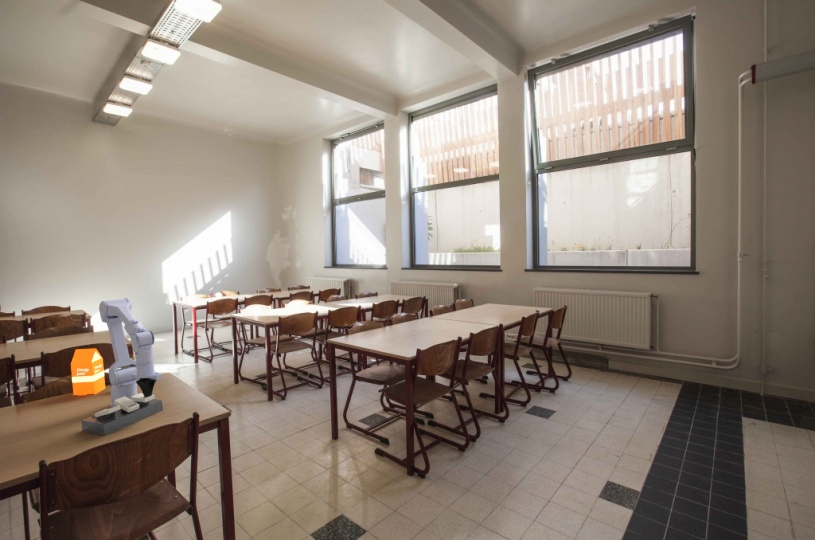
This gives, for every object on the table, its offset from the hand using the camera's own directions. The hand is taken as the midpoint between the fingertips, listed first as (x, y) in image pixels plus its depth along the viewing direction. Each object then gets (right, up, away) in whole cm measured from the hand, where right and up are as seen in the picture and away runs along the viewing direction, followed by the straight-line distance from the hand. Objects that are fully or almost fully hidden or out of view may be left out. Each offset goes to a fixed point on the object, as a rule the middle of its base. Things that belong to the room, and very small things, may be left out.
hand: (148, 396), depth 156 cm
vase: (-29, -6, +32) cm, 44 cm away
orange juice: (-44, -7, +27) cm, 52 cm away
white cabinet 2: (-5, -2, -5) cm, 7 cm away
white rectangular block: (-3, -2, +1) cm, 3 cm away
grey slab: (-6, -7, -2) cm, 10 cm away
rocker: (-7, -3, -11) cm, 13 cm away
